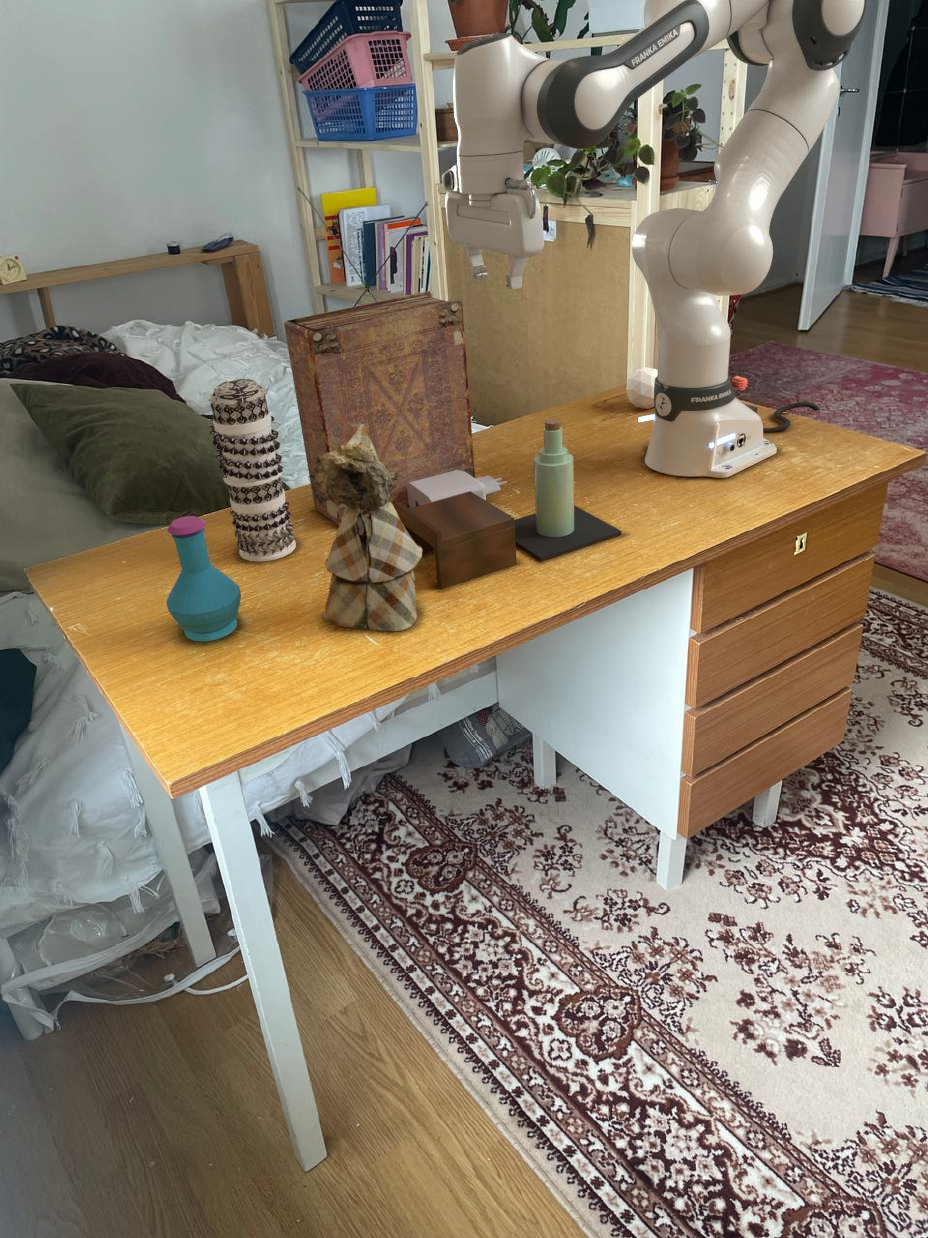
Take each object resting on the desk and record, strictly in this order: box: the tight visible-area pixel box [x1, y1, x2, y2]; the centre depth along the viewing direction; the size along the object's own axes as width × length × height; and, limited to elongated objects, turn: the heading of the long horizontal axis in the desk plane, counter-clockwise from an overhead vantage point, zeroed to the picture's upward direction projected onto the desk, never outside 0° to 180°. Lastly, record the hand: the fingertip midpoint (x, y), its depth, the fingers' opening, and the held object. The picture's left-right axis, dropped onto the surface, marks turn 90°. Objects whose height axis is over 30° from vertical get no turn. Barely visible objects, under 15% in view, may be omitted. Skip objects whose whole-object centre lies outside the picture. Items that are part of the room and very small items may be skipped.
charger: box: [407, 470, 508, 508], centre depth 148 cm, size 5×9×15 cm
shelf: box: [395, 491, 518, 590], centre depth 131 cm, size 12×12×8 cm
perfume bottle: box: [165, 515, 242, 642], centre depth 118 cm, size 9×9×15 cm
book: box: [283, 290, 476, 526], centre depth 146 cm, size 25×9×30 cm, turn 123°
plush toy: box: [308, 424, 423, 632], centre depth 116 cm, size 14×14×25 cm
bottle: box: [533, 418, 575, 537], centre depth 134 cm, size 6×6×16 cm
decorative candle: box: [207, 378, 297, 563], centre depth 134 cm, size 9×9×25 cm
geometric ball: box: [625, 366, 658, 410], centre depth 182 cm, size 8×8×8 cm
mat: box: [514, 505, 622, 562], centre depth 138 cm, size 14×13×1 cm
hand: (496, 283), depth 134 cm, fingers open, 8 cm apart
